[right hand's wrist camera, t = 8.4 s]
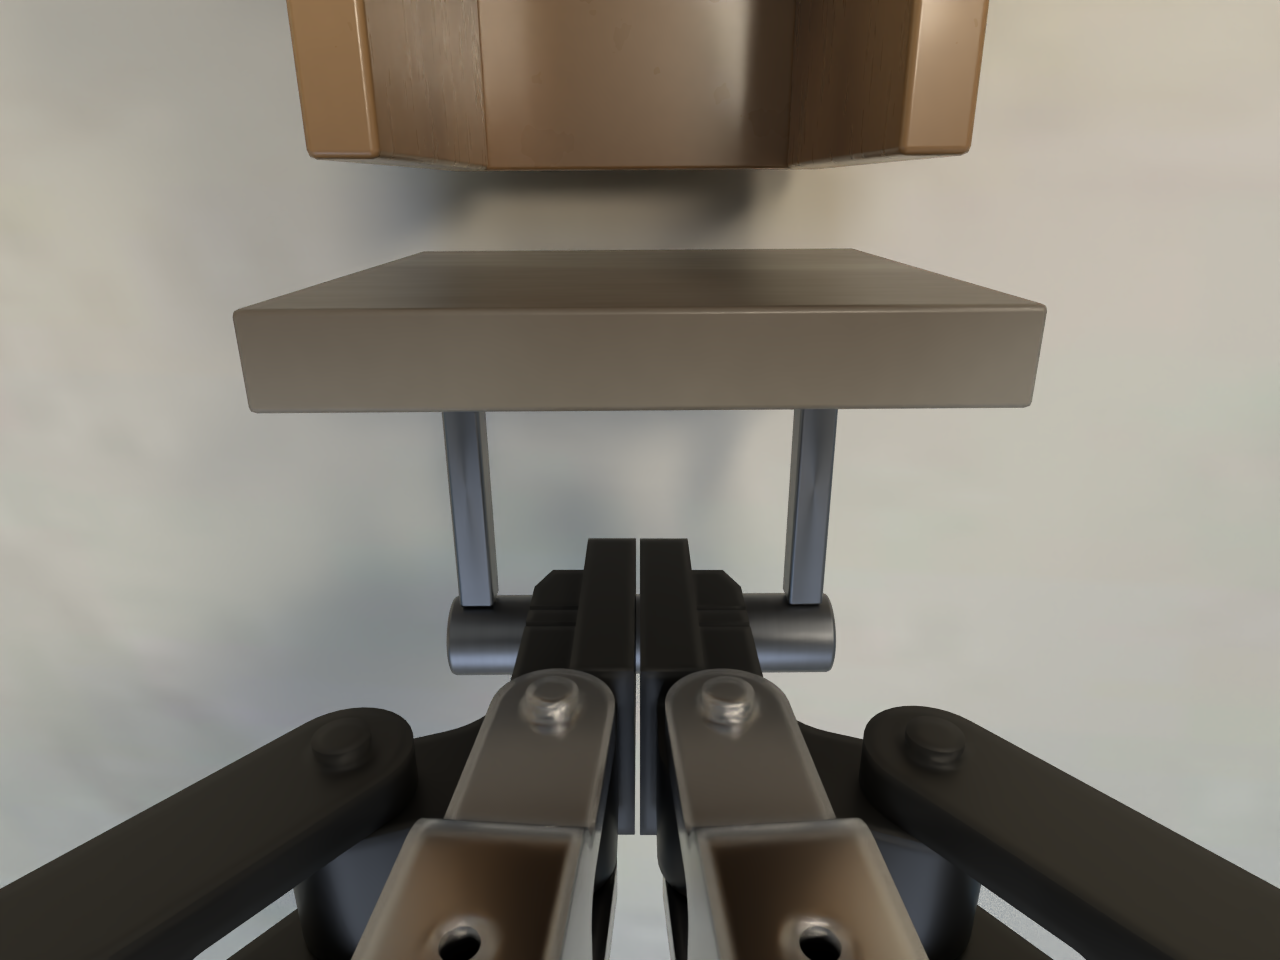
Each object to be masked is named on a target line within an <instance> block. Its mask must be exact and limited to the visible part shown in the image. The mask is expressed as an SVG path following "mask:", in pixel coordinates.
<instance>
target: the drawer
mask: <svg viewBox="0 0 1280 960" xmlns="http://www.w3.org/2000/svg"><path fill="white" fill-rule="evenodd" d="M286 3H287V10H288V17H289V25H290V32H291V39H292V46H293V54H294V61H295V68H296V75H297V82H298V90H299V97H300V104H301V111H302V119H303V126H304V133H305V140H306V147H307V151H308V153H309V155H310V157H312V158H315V159H317V160H329V161H341V162H354V163H366V164H378V165H390V166H402V167H414V168H427V169H439V170H451V171H576V170H733V169H822V168H831V167H842V166H852V165H863V164H874V163H885V162H895V161H906V160H917V159H928V158H938V157H949V156H960V155H963V154H965V153H968V151H969V149H970V147H971V141H972V133H973V125H974V117H975V109H976V101H977V94H978V86H979V78H980V70H981V62H982V54H983V46H984V38H985V30H986V22H987V14H988V6H989V0H286ZM1046 313H1047V310H1046V306H1045V305H1043V304H1040V303H1037V302H1034V301H1030V300H1027V299H1023V298H1020V297H1016V296H1013V295H1010V294H1006V293H1003V292H999V291H996V290H992V289H989V288H985V287H982V286H979V285H975V284H972V283H968V282H965V281H961V280H958V279H955V278H951V277H948V276H944V275H941V274H937V273H934V272H930V271H927V270H924V269H920V268H917V267H913V266H910V265H906V264H903V263H900V262H896V261H893V260H889V259H886V258H882V257H879V256H875V255H872V254H869V253H865V252H862V251H858V250H855V249H727V250H577V251H428V252H421V253H417V254H414V255H411V256H408V257H405V258H401V259H398V260H395V261H392V262H389V263H385V264H382V265H379V266H376V267H372V268H369V269H366V270H363V271H360V272H356V273H353V274H350V275H347V276H344V277H340V278H337V279H334V280H331V281H327V282H324V283H321V284H318V285H315V286H311V287H308V288H305V289H302V290H299V291H295V292H292V293H289V294H286V295H282V296H279V297H276V298H273V299H270V300H266V301H263V302H260V303H257V304H254V305H250V306H247V307H244V308H241V309H238V310H236V311H234V313H233V321H234V327H235V332H236V338H237V343H238V349H239V354H240V360H241V365H242V371H243V377H244V382H245V388H246V393H247V399H248V404H249V408H250V410H251V412H255V413H356V412H442V419H443V430H444V440H445V451H446V461H447V472H448V483H449V493H450V504H451V514H452V525H453V535H454V546H455V557H456V567H457V578H458V588H459V596H458V597H456V598H455V599H454V600H453V603H452V605H451V608H450V612H449V617H448V625H447V656H448V662H449V666H450V669H451V671H452V673H454V674H456V675H512V673H513V670H514V666H515V662H516V658H517V654H518V650H519V646H520V642H521V639H522V635H523V631H524V627H525V626H526V619H527V615H528V611H529V610H530V604H531V600H532V596H533V595H497V594H498V591H499V589H498V576H497V563H496V550H495V536H494V523H493V510H492V496H491V483H490V470H489V457H488V443H487V430H486V417H485V412H493V411H630V410H767V409H794V420H793V436H792V452H791V469H790V485H789V501H788V517H787V533H786V549H785V565H784V581H783V590H784V592H785V593H742V594H743V598H744V602H745V606H746V610H747V614H748V618H749V622H750V627H751V630H752V634H753V638H754V642H755V646H756V650H757V654H758V658H759V663H760V667H761V671H762V672H827V671H829V670H830V669H831V668H832V666H833V662H834V658H835V650H836V629H835V619H834V613H833V609H832V605H831V603H830V600H829V598H828V596H827V595H826V594H824V593H823V585H824V572H825V560H826V548H827V536H828V524H829V511H830V499H831V487H832V475H833V462H834V450H835V438H836V426H837V414H838V409H904V408H1024V407H1027V406H1030V404H1031V402H1032V397H1033V391H1034V385H1035V379H1036V373H1037V367H1038V361H1039V355H1040V349H1041V343H1042V337H1043V331H1044V325H1045V319H1046ZM636 673H640V594H636Z"/></svg>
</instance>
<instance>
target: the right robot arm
mask: <svg viewBox="0 0 1280 960" xmlns="http://www.w3.org/2000/svg"><path fill="white" fill-rule="evenodd" d="M635 728H636V538H589V539H588V544H587V551H586V558H585V565H584V570H553V571H551V572H550V573H549V574H548V575H547V576H546V577H545V578H544V579H543V580H542V581H541V582H539V583H538V584H537V585H536V586H535V588H534V592H533V596H532V600H531V604H530V610H529V611H528V615H527V619H526V626H525V627H524V631H523V635H522V639H521V642H520V646H519V650H518V654H517V658H516V662H515V666H514V670H513V673H512V677H511V681H510V682H508V683H507V684H505V685H504V686H503V687H502V688H500V689H499V691H498V692H497V693H496V694H495V696H494V697H493V699H492V701H491V703H490V706H489V708H488V711H487V713H486V715H485V716H484V717H482V718H480V719H479V720H477V721H475V722H473V723H470V724H468V725H466V726H463V727H460V728H457V729H454V730H450V731H446V732H442V733H437V734H432V735H428V736H423V737H419V738H414V739H413V732H412V730H411V727H410V725H409V724H408V723H407V721H406V720H404V719H403V718H402V717H401V716H399V715H397V714H395V713H393V712H390V711H387V710H384V709H378V708H351V709H345V710H339V711H336V712H332V713H328V714H326V715H323V716H320V717H317V718H315V719H313V720H311V721H309V722H307V723H305V724H303V725H301V726H299V727H298V728H296V729H294V730H292V731H290V732H288V733H287V734H285V735H283V736H281V737H279V738H277V739H276V740H274V741H272V742H270V743H268V744H266V745H264V746H263V747H261V748H259V749H257V750H255V751H253V752H252V753H250V754H248V755H246V756H244V757H242V758H241V759H239V760H237V761H235V762H233V763H231V764H229V765H228V766H226V767H224V768H222V769H220V770H218V771H217V772H215V773H213V774H211V775H209V776H207V777H206V778H204V779H202V780H200V781H198V782H196V783H194V784H193V785H191V786H189V787H187V788H185V789H183V790H182V791H180V792H178V793H176V794H174V795H172V796H171V797H169V798H167V799H165V800H163V801H161V802H159V803H158V804H156V805H154V806H152V807H150V808H148V809H147V810H145V811H143V812H141V813H139V814H137V815H136V816H134V817H132V818H130V819H128V820H126V821H124V822H123V823H121V824H119V825H117V826H115V827H113V828H112V829H110V830H108V831H106V832H104V833H102V834H101V835H99V836H97V837H95V838H93V839H91V840H90V841H88V842H86V843H84V844H82V845H80V846H78V847H77V848H75V849H73V850H71V851H69V852H67V853H66V854H64V855H62V856H60V857H58V858H56V859H55V860H53V861H51V862H49V863H47V864H45V865H43V866H42V867H40V868H38V869H36V870H34V871H32V872H31V873H29V874H27V875H25V876H23V877H21V878H20V879H18V880H16V881H14V882H12V883H10V884H8V885H7V886H5V887H3V888H1V889H0V960H193V959H194V958H195V957H196V956H197V955H199V954H200V953H201V952H203V951H204V950H205V949H207V948H208V947H210V946H211V945H213V944H214V943H215V942H217V941H218V940H220V939H221V938H223V937H224V936H225V935H227V934H228V933H230V932H231V931H233V930H234V929H235V928H237V927H238V926H240V925H241V924H243V923H244V922H245V921H247V920H248V919H250V918H251V917H253V916H254V915H255V914H257V913H258V912H260V911H261V910H263V909H264V908H265V907H267V906H268V905H270V904H271V903H273V902H274V901H275V900H277V899H278V898H280V897H281V896H283V895H284V894H286V893H287V892H288V891H290V890H291V889H294V894H295V899H296V904H297V909H296V910H295V911H293V912H292V913H291V914H289V915H288V916H286V917H285V918H284V919H282V920H281V921H280V922H278V923H277V924H275V925H274V926H273V927H271V928H270V929H268V930H267V931H266V932H264V933H263V934H262V935H260V936H259V937H257V938H256V939H255V940H253V941H252V942H250V943H249V944H248V945H246V946H245V947H244V948H242V949H241V950H239V951H238V952H237V953H235V954H234V955H232V956H231V957H230V958H228V959H227V960H609V958H610V950H611V942H612V934H613V925H614V917H615V909H616V901H617V839H618V835H635ZM640 835H657V857H658V865H659V867H660V870H661V873H662V874H663V901H664V909H665V917H666V925H667V934H668V942H669V950H670V958H671V960H1053V959H1052V958H1050V957H1049V956H1048V955H1046V954H1045V953H1043V952H1042V951H1041V950H1039V949H1038V948H1036V947H1035V946H1034V945H1032V944H1031V943H1030V942H1028V941H1027V940H1025V939H1024V938H1023V937H1021V936H1020V935H1018V934H1017V933H1016V932H1014V931H1013V930H1012V929H1010V928H1009V927H1007V926H1006V925H1005V924H1003V923H1002V922H1000V921H999V920H998V919H996V918H995V917H994V916H992V915H991V914H989V913H988V912H987V911H985V910H984V909H982V908H981V907H980V906H978V905H977V903H978V898H979V892H980V887H981V884H982V885H983V886H984V887H986V888H987V889H989V890H990V891H992V892H993V893H994V894H996V895H997V896H999V897H1000V898H1002V899H1003V900H1004V901H1006V902H1007V903H1009V904H1010V905H1012V906H1013V907H1015V908H1016V909H1017V910H1019V911H1020V912H1022V913H1023V914H1025V915H1026V916H1027V917H1029V918H1030V919H1032V920H1033V921H1035V922H1036V923H1037V924H1039V925H1040V926H1042V927H1043V928H1045V929H1046V930H1047V931H1049V932H1050V933H1052V934H1053V935H1055V936H1056V937H1057V938H1059V939H1060V940H1062V941H1063V942H1065V943H1066V944H1067V945H1069V946H1070V947H1072V948H1073V949H1074V950H1076V951H1077V952H1078V953H1080V954H1081V955H1082V956H1083V957H1084V958H1085V959H1086V960H1280V889H1279V888H1277V887H1275V886H1273V885H1272V884H1270V883H1268V882H1266V881H1264V880H1262V879H1260V878H1259V877H1257V876H1255V875H1253V874H1251V873H1249V872H1248V871H1246V870H1244V869H1242V868H1240V867H1238V866H1237V865H1235V864H1233V863H1231V862H1229V861H1227V860H1225V859H1224V858H1222V857H1220V856H1218V855H1216V854H1214V853H1213V852H1211V851H1209V850H1207V849H1205V848H1203V847H1202V846H1200V845H1198V844H1196V843H1194V842H1192V841H1190V840H1189V839H1187V838H1185V837H1183V836H1181V835H1179V834H1178V833H1176V832H1174V831H1172V830H1170V829H1168V828H1167V827H1165V826H1163V825H1161V824H1159V823H1157V822H1155V821H1154V820H1152V819H1150V818H1148V817H1146V816H1144V815H1143V814H1141V813H1139V812H1137V811H1135V810H1133V809H1132V808H1130V807H1128V806H1126V805H1124V804H1122V803H1120V802H1119V801H1117V800H1115V799H1113V798H1111V797H1109V796H1108V795H1106V794H1104V793H1102V792H1100V791H1098V790H1097V789H1095V788H1093V787H1091V786H1089V785H1087V784H1085V783H1084V782H1082V781H1080V780H1078V779H1076V778H1074V777H1073V776H1071V775H1069V774H1067V773H1065V772H1063V771H1062V770H1060V769H1058V768H1056V767H1054V766H1052V765H1050V764H1049V763H1047V762H1045V761H1043V760H1041V759H1039V758H1038V757H1036V756H1034V755H1032V754H1030V753H1028V752H1027V751H1025V750H1023V749H1021V748H1019V747H1017V746H1015V745H1014V744H1012V743H1010V742H1008V741H1006V740H1004V739H1003V738H1001V737H999V736H997V735H995V734H993V733H992V732H990V731H988V730H986V729H984V728H982V727H981V726H979V725H977V724H975V723H973V722H971V721H969V720H967V719H965V718H963V717H961V716H959V715H956V714H953V713H951V712H948V711H944V710H940V709H936V708H930V707H923V706H901V707H895V708H891V709H888V710H884V711H882V712H880V713H878V714H877V715H875V716H874V717H873V718H872V719H871V720H870V721H869V722H868V724H867V725H866V728H865V730H864V737H863V739H859V738H854V737H850V736H845V735H840V734H836V733H831V732H827V731H823V730H819V729H816V728H813V727H811V726H808V725H805V724H803V723H801V722H799V721H797V720H796V718H795V716H794V713H793V711H792V708H791V706H790V703H789V701H788V699H787V697H786V696H785V694H784V693H783V692H782V691H781V689H780V688H778V687H777V686H776V685H775V684H773V683H772V682H770V681H769V680H767V679H765V678H763V675H762V671H761V667H760V663H759V658H758V654H757V650H756V646H755V642H754V638H753V634H752V630H751V627H750V622H749V618H748V614H747V610H746V606H745V602H744V598H743V594H742V590H741V587H740V586H739V585H738V584H737V583H736V582H735V581H734V580H733V579H732V578H731V577H730V576H729V575H727V574H726V573H725V572H724V571H723V570H692V569H691V561H690V554H689V546H688V539H640Z"/></svg>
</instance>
